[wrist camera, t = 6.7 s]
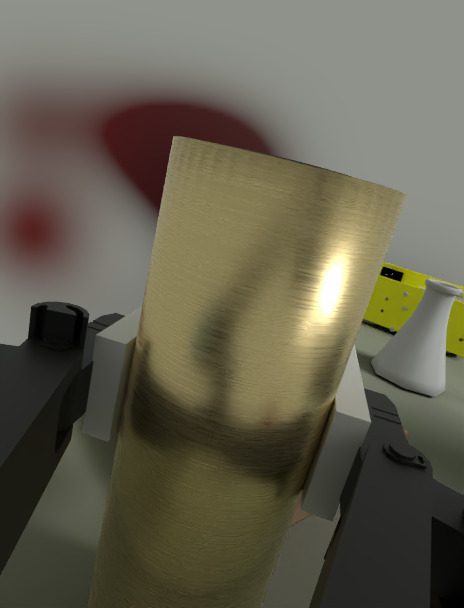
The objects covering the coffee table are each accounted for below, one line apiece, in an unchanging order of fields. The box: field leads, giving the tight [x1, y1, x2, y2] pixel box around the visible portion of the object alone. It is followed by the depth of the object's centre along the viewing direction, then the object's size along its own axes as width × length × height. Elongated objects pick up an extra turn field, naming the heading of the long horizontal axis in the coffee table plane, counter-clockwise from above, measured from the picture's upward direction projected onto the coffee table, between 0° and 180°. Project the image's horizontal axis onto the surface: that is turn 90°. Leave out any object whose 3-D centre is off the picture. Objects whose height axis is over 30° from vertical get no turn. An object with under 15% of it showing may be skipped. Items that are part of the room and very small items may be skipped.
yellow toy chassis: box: [362, 262, 464, 357], centre depth 56 cm, size 16×6×8 cm, turn 56°
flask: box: [371, 279, 462, 397], centre depth 41 cm, size 7×7×10 cm
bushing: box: [87, 136, 407, 608], centre depth 11 cm, size 5×5×14 cm
